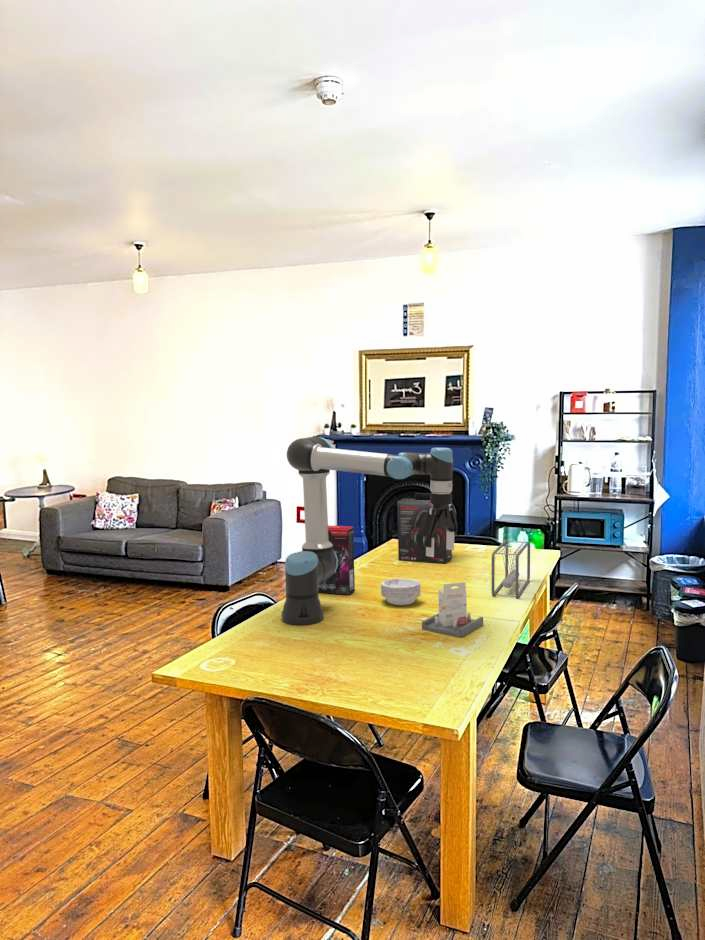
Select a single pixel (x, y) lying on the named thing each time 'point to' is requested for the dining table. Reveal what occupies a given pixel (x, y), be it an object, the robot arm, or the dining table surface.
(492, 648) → the dining table surface
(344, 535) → the graphics card box
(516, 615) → the dining table surface
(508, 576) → the newton's cradle
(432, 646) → the dining table surface
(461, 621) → the ink cartridge box
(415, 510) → the headset box
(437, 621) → the pin tray
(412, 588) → the paper bowls
